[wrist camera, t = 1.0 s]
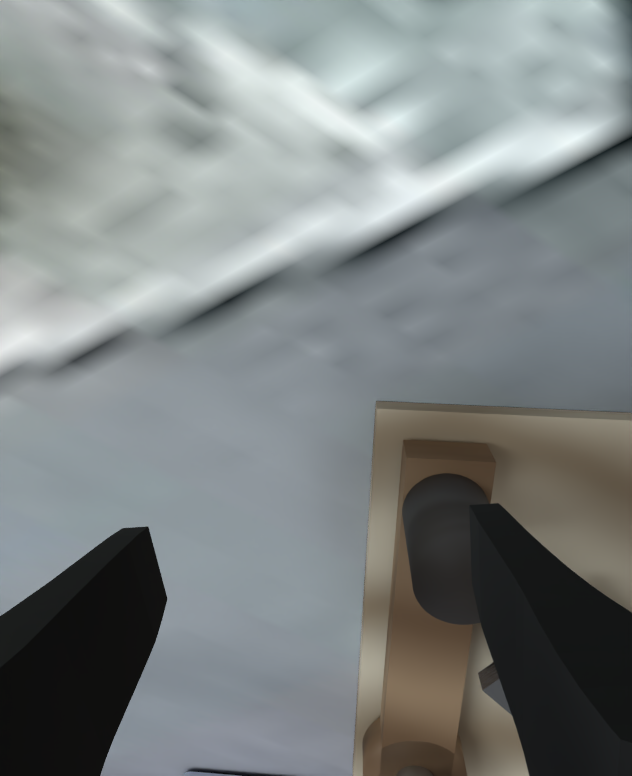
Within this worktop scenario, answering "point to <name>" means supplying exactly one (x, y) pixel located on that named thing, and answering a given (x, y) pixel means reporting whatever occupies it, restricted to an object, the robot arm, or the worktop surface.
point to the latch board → (529, 507)
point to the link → (429, 611)
